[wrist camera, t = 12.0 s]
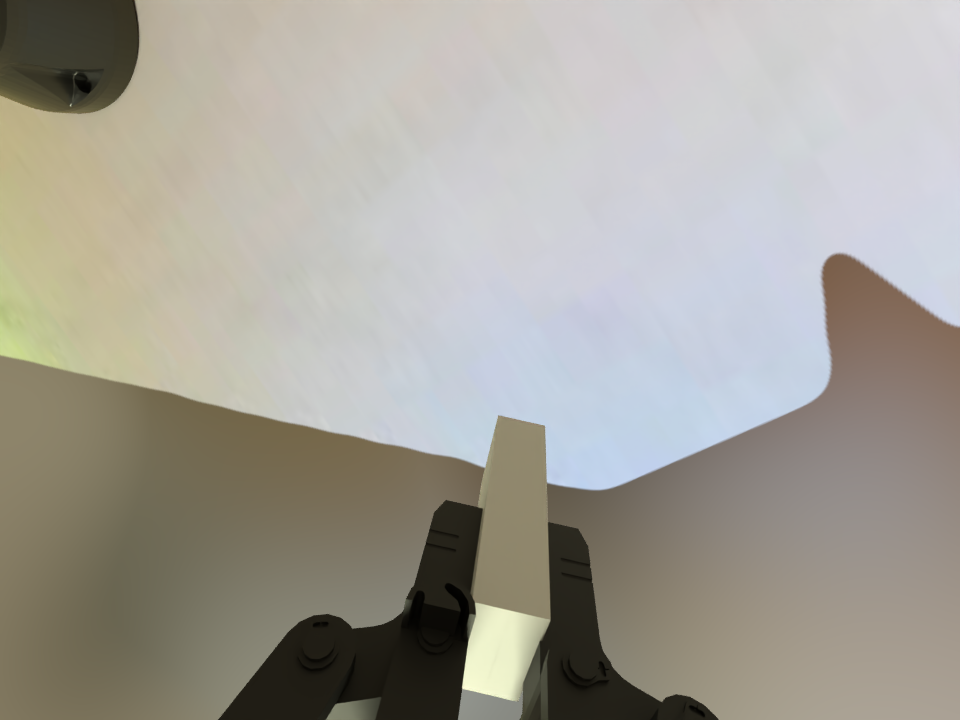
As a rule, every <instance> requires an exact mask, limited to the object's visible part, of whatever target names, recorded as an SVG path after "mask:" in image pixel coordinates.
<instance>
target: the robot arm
mask: <svg viewBox="0 0 960 720" xmlns="http://www.w3.org/2000/svg"><path fill="white" fill-rule="evenodd" d="M137 50H138V30H137V21H136V15H135V9H134V5H133V1H132V0H0V96H3V97H5V98H8V99H10V100H13V101H15V102H18V103H20V104H23V105H26V106H28V107H31V108H35V109H39V110H43V111H48V112H59V113H77V114H82V113H91V112H95V111H98V110H101V109H103V108H105V107H107V106H109V105H110V104H112V103H113V102H114V101H115V100H116V99H117V98H118V97H119V96H120V95H121V94H122V93H123V91H124V90H125V89H126V87H127V85H128V83H129V81H130V79H131V77H132V74H133V71H134V68H135V64H136V59H137ZM462 689H466V690H471V691H475V692H479V693H483V694H488V695H493V696H497V697H501V698H505V699H509V700H513V701H518V700H519V698H520V695H521V693H522V690H523V712H522V715H521V718H520V720H718V718H717V717H716V716H715V715H714V714H713V713H712V712H711V711H710V710H709V709H708V708H707V707H706V706H704V705H703V704H701V703H699V702H698V701H696V700H694V699H693V698H691V697H687V696H682V695H677V694H676V695H673V696H670V697H666V698H665V699H664V701H663V702H660V701H658V700H657V699H655V698H653V697H652V696H650V695H648V694H646V693H645V692H643V691H641V690H640V689H638V688H636V687H635V686H633V685H631V684H630V683H629V682H627V681H626V680H624V679H623V678H622V677H621V676H620V675H619V674H618V673H617V672H616V671H615V670H614V669H613V667H612V665H611V662H610V661H609V660H608V658H607V657H606V655H605V654H604V652H603V650H602V646H601V642H600V637H599V629H598V622H597V613H596V606H595V598H594V590H593V583H592V574H591V568H590V558H589V550H588V545H587V544H586V542H585V540H584V538H583V537H582V535H581V533H580V531H579V530H578V529H576V528H572V527H567V526H563V525H559V524H554V523H550V522H548V515H547V479H546V444H545V426H543V425H539V424H534V423H530V422H526V421H521V420H517V419H512V418H508V417H503V416H499V415H498V419H497V423H496V427H495V431H494V435H493V439H492V443H491V447H490V451H489V455H488V459H487V463H486V467H485V471H484V476H483V480H482V485H481V491H480V497H479V503H478V507H474V506H470V505H465V504H461V503H457V502H452V501H447V500H446V501H445V502H444V503H443V504H442V505H441V506H440V507H439V508H438V509H437V510H436V511H435V512H434V516H433V519H432V522H431V526H430V530H429V533H428V537H427V541H426V545H425V548H424V551H423V555H422V559H421V562H420V566H419V570H418V573H417V577H416V580H415V584H414V586H413V587H412V588H411V590H410V592H409V594H408V596H407V598H406V601H405V607H404V610H403V612H402V613H401V614H400V615H398V616H397V617H396V618H395V619H394V620H392V621H389V622H387V623H385V624H382V625H378V626H374V627H365V628H356V629H352V628H351V626H350V625H349V624H348V623H347V622H345V621H344V620H343V619H342V618H340V617H336V616H332V615H329V614H325V615H314V616H312V617H309V618H307V619H305V620H303V621H301V622H299V623H298V624H297V625H296V626H295V627H293V628H292V629H291V630H290V631H289V632H288V633H287V634H286V636H285V637H284V638H283V639H282V641H281V642H280V643H279V644H278V646H277V647H276V648H275V649H274V651H273V652H272V653H271V654H270V656H269V657H268V658H267V659H266V661H265V662H264V663H263V664H262V666H261V667H260V668H259V670H258V671H257V672H256V673H255V675H254V676H253V677H252V678H251V679H250V681H249V682H248V683H247V684H246V686H245V687H244V688H243V689H242V691H241V692H240V693H239V694H238V696H237V697H236V698H235V699H234V701H233V702H232V703H231V705H230V706H229V707H228V708H227V709H226V711H225V712H224V713H223V715H222V716H221V717H220V718H219V719H218V720H458V715H459V707H460V700H461V693H462Z"/></svg>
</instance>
